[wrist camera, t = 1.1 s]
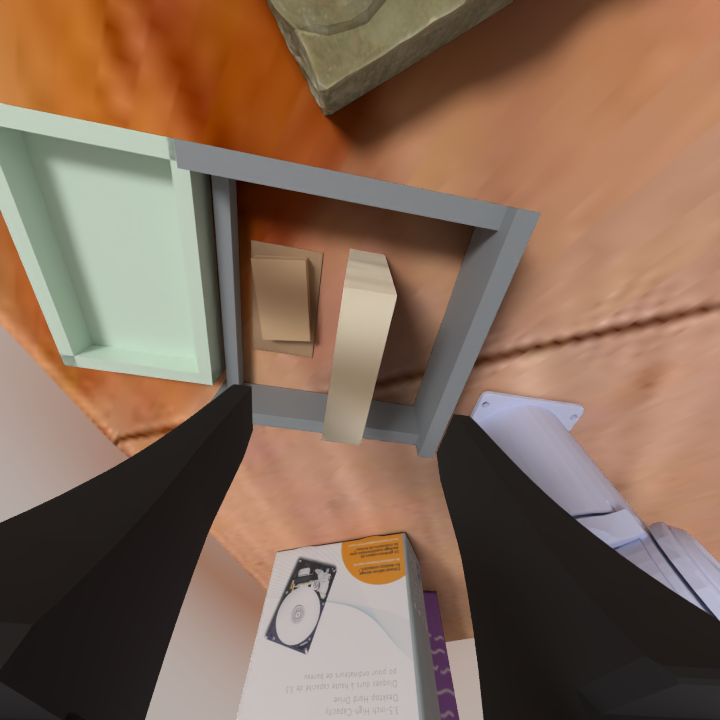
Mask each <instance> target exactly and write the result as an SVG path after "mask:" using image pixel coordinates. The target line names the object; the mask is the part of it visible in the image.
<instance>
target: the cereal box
mask: <svg viewBox="0 0 720 720" xmlns="http://www.w3.org/2000/svg"><path fill="white" fill-rule="evenodd" d="M423 595H424V603H425V611H426V618H427V625H428V632H429V639H430V646H431V653H432V660H433V667H434V674H435V681H436V688H437V695H438V702H439V710H440V717H441V720H459V715H458V710H457V704H456V699H455V694H454V688H453V683H452V677H451V671H450V666H449V660H448V655H447V649H446V644H445V638H444V633H443V627H442V622H441V616H440V611H439V605H438V599H437V594H436V591H423Z"/></svg>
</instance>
